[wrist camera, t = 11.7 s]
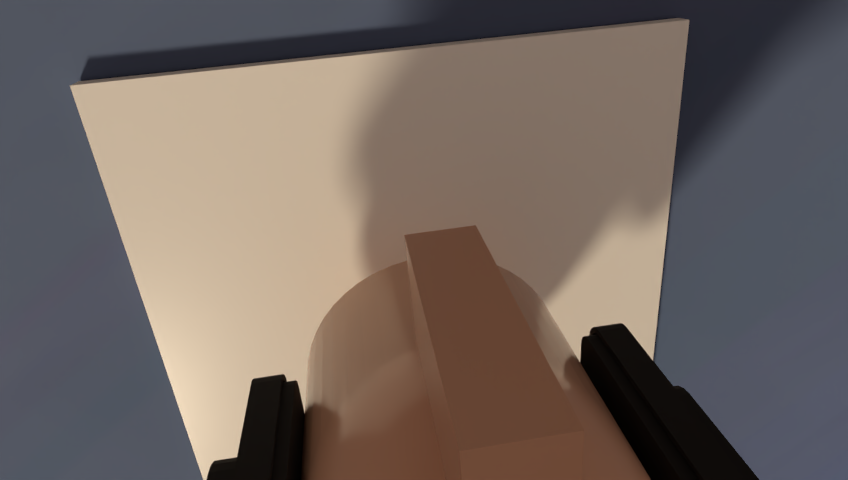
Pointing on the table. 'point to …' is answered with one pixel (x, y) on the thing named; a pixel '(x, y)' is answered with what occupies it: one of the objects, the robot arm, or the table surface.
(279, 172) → the off-white pad
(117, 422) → the table surface
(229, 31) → the table surface
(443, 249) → the terracotta jug
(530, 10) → the table surface
